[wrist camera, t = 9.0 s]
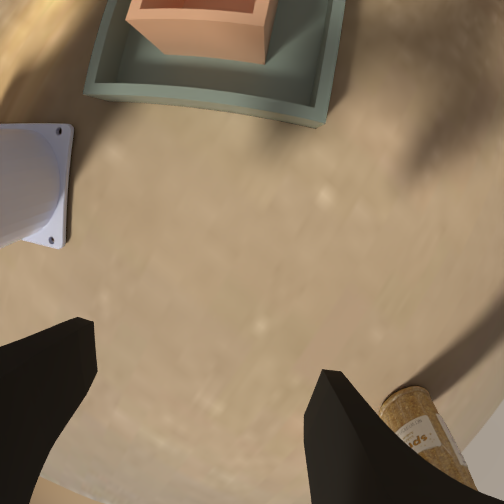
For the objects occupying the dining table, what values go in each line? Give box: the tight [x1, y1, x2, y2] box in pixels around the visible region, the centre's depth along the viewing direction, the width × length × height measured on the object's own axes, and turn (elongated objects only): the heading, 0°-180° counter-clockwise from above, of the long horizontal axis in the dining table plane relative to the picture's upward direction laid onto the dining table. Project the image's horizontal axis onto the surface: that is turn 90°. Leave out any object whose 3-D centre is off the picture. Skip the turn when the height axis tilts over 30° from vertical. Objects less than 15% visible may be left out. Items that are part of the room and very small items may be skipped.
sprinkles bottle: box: [379, 386, 478, 491], centre depth 15 cm, size 5×5×14 cm
